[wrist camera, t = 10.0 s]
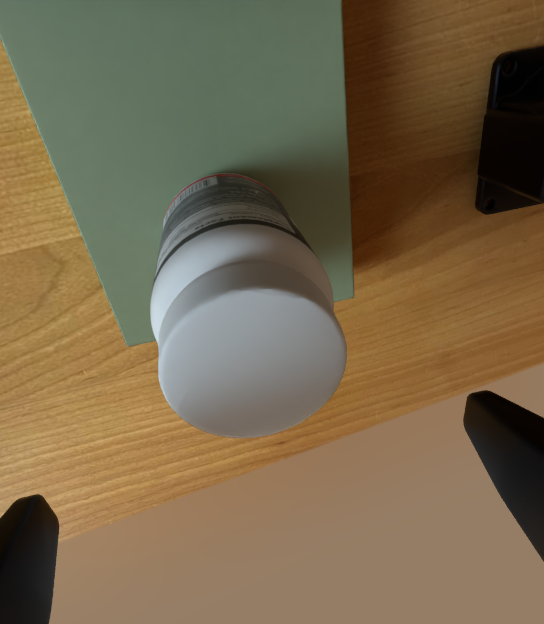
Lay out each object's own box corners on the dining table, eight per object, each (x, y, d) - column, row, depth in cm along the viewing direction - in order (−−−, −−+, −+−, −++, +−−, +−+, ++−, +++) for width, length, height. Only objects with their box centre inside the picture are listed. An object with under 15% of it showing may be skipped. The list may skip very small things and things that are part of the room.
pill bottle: (280, 290, 17) (344, 447, 10) (163, 289, 16) (146, 460, 9) (295, 174, 15) (391, 274, 8) (160, 164, 14) (133, 269, 7)
